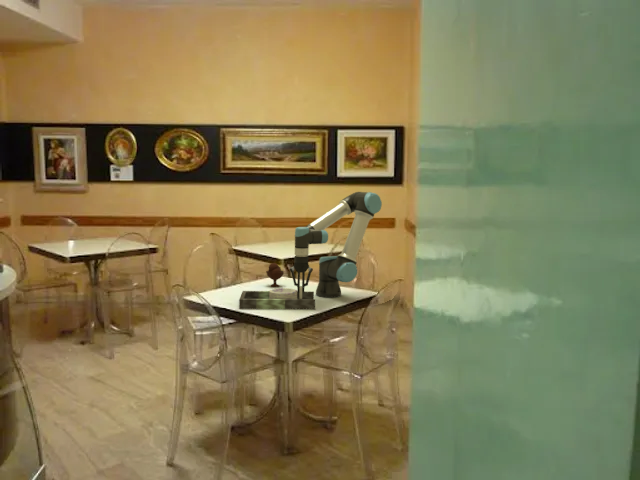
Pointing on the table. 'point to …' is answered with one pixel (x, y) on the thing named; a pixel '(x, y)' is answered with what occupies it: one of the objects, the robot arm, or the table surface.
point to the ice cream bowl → (274, 273)
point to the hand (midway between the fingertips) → (300, 298)
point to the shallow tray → (275, 301)
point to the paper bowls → (283, 293)
